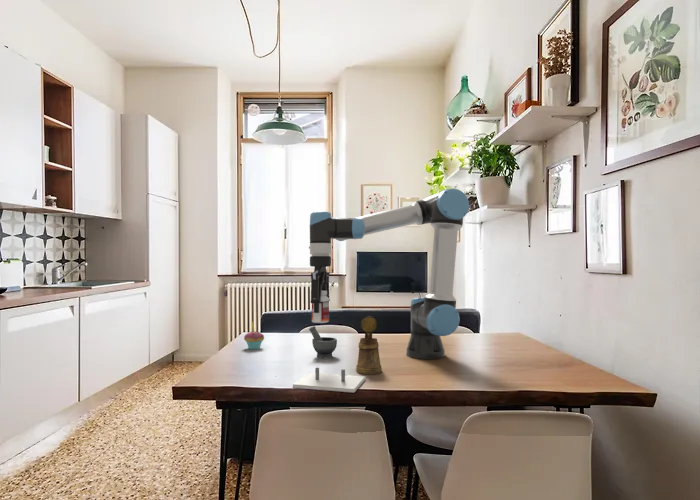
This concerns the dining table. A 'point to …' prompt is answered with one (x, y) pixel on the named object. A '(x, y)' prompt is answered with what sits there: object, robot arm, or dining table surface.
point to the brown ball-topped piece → (368, 349)
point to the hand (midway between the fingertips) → (320, 320)
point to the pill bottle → (323, 307)
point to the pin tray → (330, 382)
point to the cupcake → (254, 339)
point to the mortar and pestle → (323, 344)
